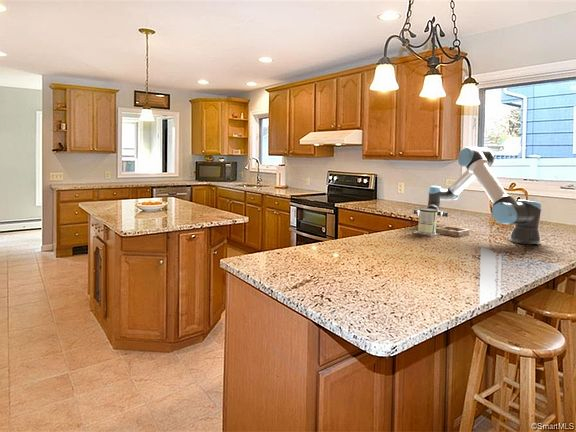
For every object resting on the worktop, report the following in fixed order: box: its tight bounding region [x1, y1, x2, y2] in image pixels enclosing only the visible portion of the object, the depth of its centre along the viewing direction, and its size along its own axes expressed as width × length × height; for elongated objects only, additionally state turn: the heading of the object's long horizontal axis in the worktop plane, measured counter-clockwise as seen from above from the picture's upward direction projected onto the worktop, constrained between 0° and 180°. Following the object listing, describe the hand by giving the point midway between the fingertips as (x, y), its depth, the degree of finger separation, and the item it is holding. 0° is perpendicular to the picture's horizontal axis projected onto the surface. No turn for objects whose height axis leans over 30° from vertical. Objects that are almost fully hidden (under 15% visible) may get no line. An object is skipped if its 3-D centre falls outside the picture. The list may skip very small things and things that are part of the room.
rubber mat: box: [412, 230, 442, 237], centre depth 246 cm, size 12×12×1 cm
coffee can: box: [417, 207, 438, 235], centre depth 245 cm, size 10×10×14 cm
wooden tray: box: [436, 225, 471, 238], centre depth 249 cm, size 14×14×3 cm
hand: (429, 214), depth 252 cm, fingers open, 13 cm apart
